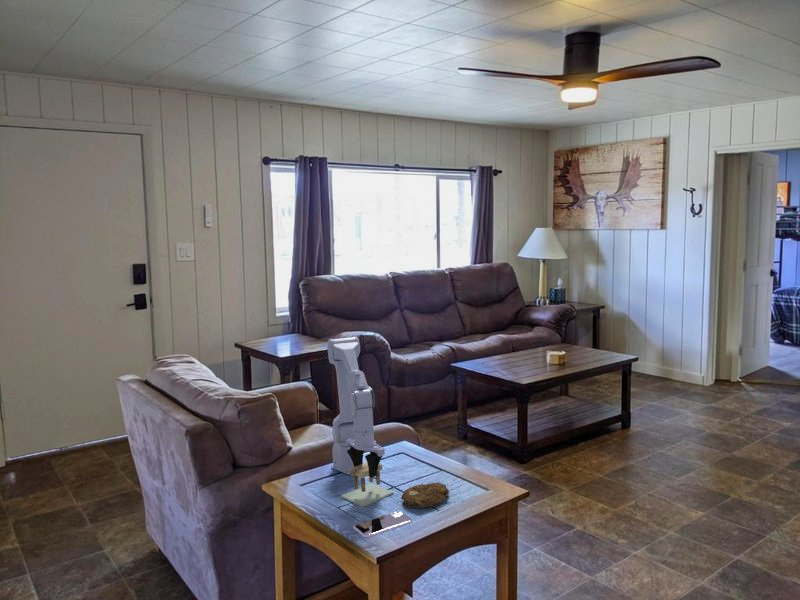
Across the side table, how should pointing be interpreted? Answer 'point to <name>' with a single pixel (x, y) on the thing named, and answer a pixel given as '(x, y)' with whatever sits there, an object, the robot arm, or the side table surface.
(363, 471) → the tan block with pegs
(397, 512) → the mobile phone
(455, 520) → the side table surface
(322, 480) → the side table surface
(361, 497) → the mat
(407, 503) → the decorative rock
